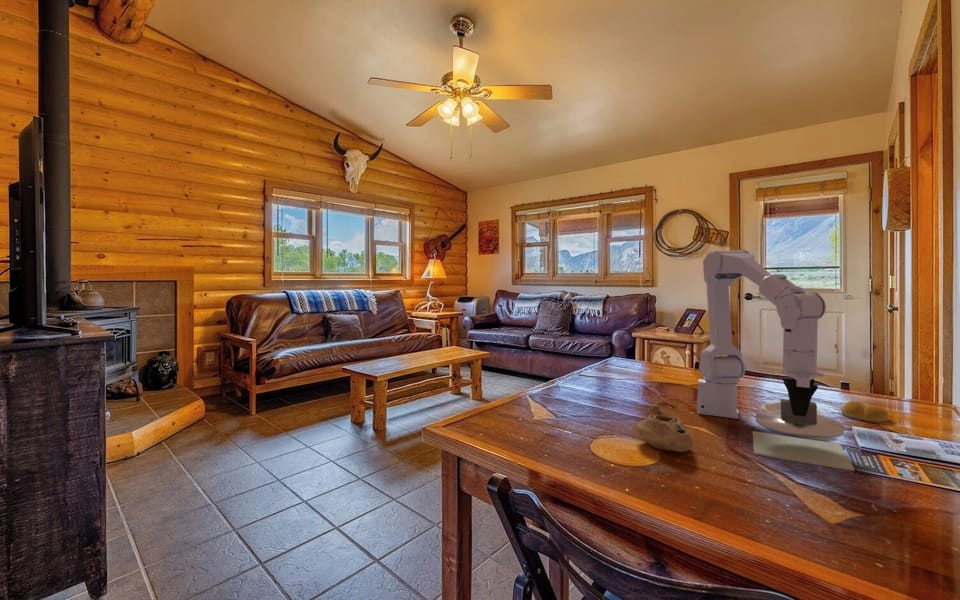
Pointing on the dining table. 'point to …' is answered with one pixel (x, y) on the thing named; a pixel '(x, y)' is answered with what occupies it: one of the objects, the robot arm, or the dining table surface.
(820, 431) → the lid
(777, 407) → the bowl
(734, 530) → the dining table surface
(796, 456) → the mat
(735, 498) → the dining table surface
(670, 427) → the oil lamp
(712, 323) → the robot arm
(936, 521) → the dining table surface
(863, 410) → the bread roll
